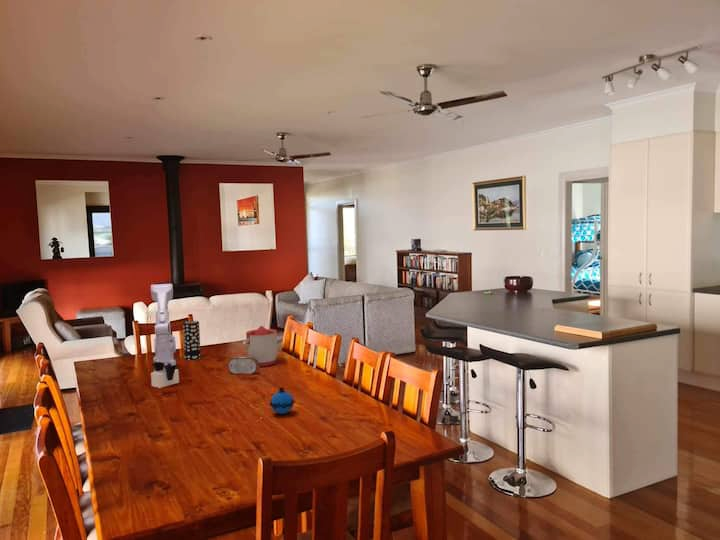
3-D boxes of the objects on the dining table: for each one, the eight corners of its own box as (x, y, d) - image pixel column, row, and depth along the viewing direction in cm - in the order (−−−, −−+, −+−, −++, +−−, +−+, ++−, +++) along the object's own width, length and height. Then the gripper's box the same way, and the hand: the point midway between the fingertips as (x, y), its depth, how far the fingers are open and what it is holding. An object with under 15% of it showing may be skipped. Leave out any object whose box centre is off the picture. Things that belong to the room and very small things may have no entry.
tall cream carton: (151, 386, 238) (151, 372, 237) (171, 380, 246) (170, 367, 245) (159, 388, 234) (158, 374, 234) (178, 382, 242) (178, 369, 242)
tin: (259, 373, 256) (259, 355, 255) (257, 374, 252) (257, 357, 252) (229, 373, 257) (228, 355, 256) (227, 374, 254) (226, 357, 253)
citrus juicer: (241, 363, 275) (239, 325, 274) (273, 359, 283) (272, 322, 281) (247, 370, 261) (246, 330, 260) (282, 365, 269) (280, 326, 267)
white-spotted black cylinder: (195, 360, 283) (194, 323, 282) (181, 360, 285) (179, 323, 283) (203, 357, 291) (201, 321, 290) (189, 356, 293) (187, 320, 292)
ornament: (298, 411, 199) (297, 385, 198) (284, 419, 192) (283, 392, 191) (280, 408, 203) (279, 382, 203) (265, 415, 196) (264, 388, 195)
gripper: (146, 349, 240) (148, 378, 241) (165, 352, 231) (166, 383, 232) (160, 346, 246) (162, 374, 247) (179, 349, 237) (180, 379, 238)
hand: (165, 378), depth 240 cm, fingers open, 7 cm apart
